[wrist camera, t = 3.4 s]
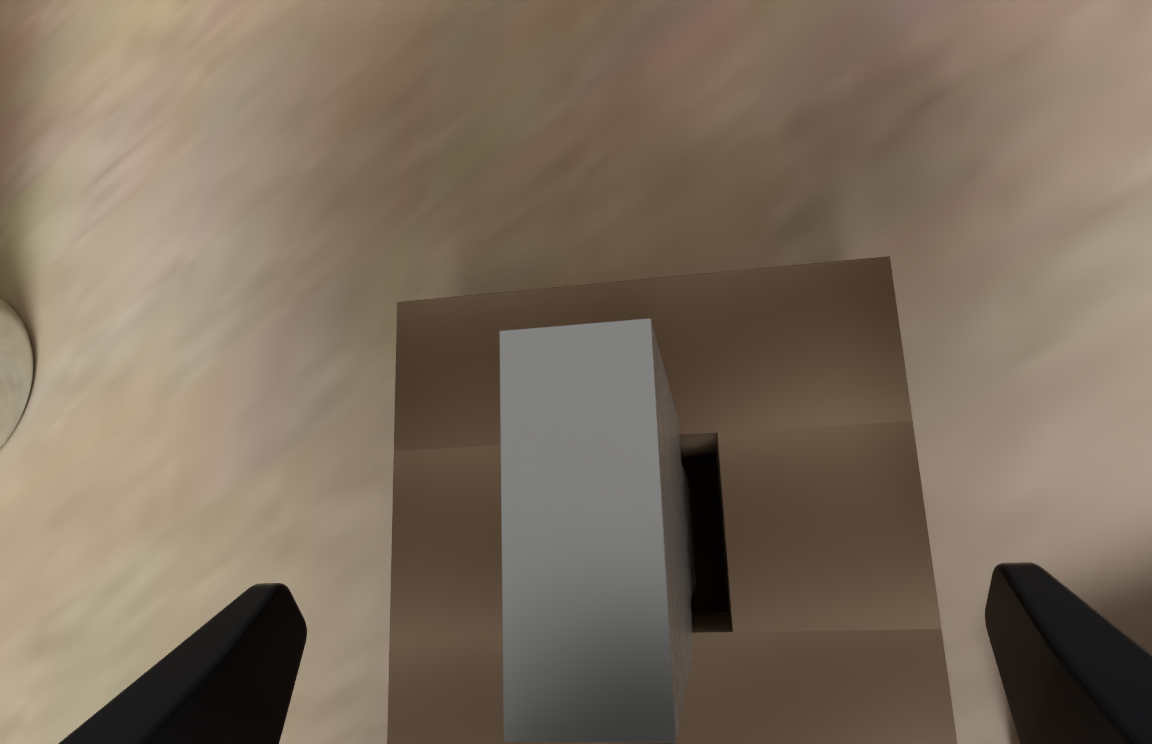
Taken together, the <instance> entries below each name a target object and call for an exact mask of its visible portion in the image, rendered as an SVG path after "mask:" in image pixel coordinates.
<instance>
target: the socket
mask: <svg viewBox="0 0 1152 744" xmlns="http://www.w3.org/2000/svg"><path fill="white" fill-rule="evenodd" d="M649 318H651V321H652V325H653V328H654V332H655V336H656V339H657V343H658V347H659V350H660V354H661V358H662V361H663V365H664V369H665V372H666V376H667V380H668V383H669V387H670V391H671V394H672V398H673V402H674V405H675V409H676V413H677V416H678V420H679V435H680V450H681V458H694V457H712V456H716V457H717V470H718V483H719V496H720V509H721V522H722V535H723V548H724V561H725V574H726V587H727V600H728V613H691V617H692V632H693V647H694V648H693V653H692V659H691V664H690V670H689V675H688V680H687V686H686V691H685V696H684V702H683V707H682V712H681V718H680V723H679V728H678V734H677V739H676V743H629V742H507V741H504V711H503V613H502V515H501V417H500V331H507V330H519V329H531V328H542V327H554V326H566V325H578V324H590V323H602V322H614V321H626V320H638V319H649ZM387 744H957V739H956V732H955V724H954V717H953V710H952V703H951V696H950V688H949V681H948V674H947V667H946V659H945V652H944V645H943V638H942V631H941V623H940V616H939V609H938V602H937V595H936V587H935V580H934V573H933V566H932V559H931V551H930V544H929V537H928V530H927V523H926V515H925V508H924V501H923V494H922V486H921V479H920V472H919V465H918V458H917V450H916V443H915V436H914V429H913V422H912V414H911V407H910V400H909V393H908V386H907V378H906V371H905V364H904V357H903V349H902V342H901V335H900V328H899V321H898V313H897V306H896V299H895V292H894V285H893V277H892V270H891V263H890V256H889V257H878V258H867V259H856V260H846V261H835V262H824V263H813V264H803V265H792V266H781V267H770V268H759V269H749V270H738V271H727V272H716V273H706V274H695V275H684V276H673V277H663V278H652V279H641V280H630V281H620V282H609V283H598V284H587V285H576V286H566V287H555V288H544V289H533V290H523V291H512V292H501V293H490V294H480V295H469V296H458V297H447V298H436V299H426V300H415V301H404V302H397V341H396V385H395V429H394V474H393V518H392V562H391V606H390V651H389V695H388V739H387Z"/></svg>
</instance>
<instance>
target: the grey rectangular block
mask: <svg viewBox="0 0 1152 744" xmlns="http://www.w3.org/2000/svg"><path fill="white" fill-rule="evenodd" d="M500 417H501V515H502V613H503V711H504V741H507V742H629V743H676V739H677V734H678V728H679V723H680V718H681V712H682V707H683V702H684V696H685V691H686V686H687V680H688V675H689V670H690V664H691V659H692V653H693V648H694V647H693V632H692V617H691V602H690V599H691V597H692V595H693V592H694V590H695V587H696V580H695V566H694V551H693V536H692V521H691V507H690V492H689V482H688V479H687V477H686V474H685V471H684V469H683V466H682V463H681V450H680V435H679V420H678V416H677V413H676V409H675V405H674V402H673V398H672V394H671V391H670V387H669V383H668V380H667V376H666V372H665V369H664V365H663V361H662V358H661V354H660V350H659V347H658V343H657V339H656V336H655V332H654V328H653V325H652V321H651V318H649V319H638V320H626V321H614V322H602V323H590V324H578V325H566V326H554V327H542V328H531V329H519V330H507V331H500Z"/></svg>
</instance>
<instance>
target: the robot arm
mask: <svg viewBox="0 0 1152 744" xmlns="http://www.w3.org/2000/svg"><path fill="white" fill-rule="evenodd" d="M985 621H986V627H987V632H988V635H989V639H990V642H991V645H992V649H993V652H994V656H995V659H996V663H997V666H998V669H999V673H1000V676H1001V680H1002V683H1003V686H1004V690H1005V693H1006V697H1007V700H1008V704H1009V707H1010V710H1011V714H1012V717H1013V721H1014V724H1015V728H1016V731H1017V734H1018V738H1019V741H1020V744H1152V655H1151V654H1150V653H1149V652H1147V651H1146V650H1145V649H1144V648H1142V647H1141V646H1140V645H1139V644H1137V643H1136V642H1135V641H1134V640H1132V639H1131V638H1130V637H1129V636H1127V635H1126V634H1125V633H1123V632H1122V631H1121V630H1120V629H1118V628H1117V627H1116V626H1115V625H1113V624H1112V623H1111V622H1110V621H1108V620H1107V619H1106V618H1105V617H1103V616H1102V615H1101V614H1100V613H1098V612H1097V611H1096V610H1095V609H1093V608H1092V607H1091V606H1090V605H1088V604H1087V603H1086V602H1085V601H1083V600H1082V599H1081V598H1079V597H1078V596H1077V595H1076V594H1074V593H1073V592H1072V591H1071V590H1069V589H1068V588H1067V587H1066V586H1064V585H1063V584H1062V583H1061V582H1059V581H1058V580H1057V579H1056V578H1054V577H1053V576H1052V575H1051V574H1049V573H1048V572H1047V571H1046V570H1044V569H1043V568H1042V567H1040V566H1038V565H1036V564H1034V563H1001V564H998V565H997V566H996V567H995V568H994V571H993V574H992V579H991V584H990V589H989V594H988V599H987V604H986V609H985ZM306 637H307V627H306V622H305V620H304V618H303V616H302V614H301V612H300V610H299V608H298V606H297V604H296V602H295V600H294V598H293V596H292V594H291V592H290V590H289V589H288V587H287V586H285V585H284V584H281V583H266V584H256V585H253V586H252V587H250V588H249V589H247V590H246V591H245V592H244V593H242V594H241V595H240V596H239V597H238V598H236V599H235V600H234V601H233V602H231V603H230V604H229V605H228V606H227V607H225V608H224V609H223V610H222V611H220V612H219V613H218V614H217V615H215V616H214V617H213V618H212V619H211V620H209V621H208V622H207V623H206V624H204V625H203V626H202V627H201V628H200V629H198V630H197V631H196V632H195V633H193V634H192V635H191V636H190V637H189V638H187V639H186V640H185V641H184V642H182V643H181V644H180V645H179V646H178V647H176V648H175V649H174V650H173V651H171V652H170V653H169V654H168V655H166V656H165V657H164V658H163V659H162V660H160V661H159V662H158V663H157V664H155V665H154V666H153V667H152V668H151V669H149V670H148V671H147V672H146V673H144V674H143V675H142V676H141V677H140V678H138V679H137V680H136V681H135V682H133V683H132V684H131V685H130V686H129V687H127V688H126V689H125V690H124V691H122V692H121V693H120V694H119V695H117V696H116V697H115V698H114V699H113V700H111V701H110V702H109V703H108V704H106V705H105V706H104V707H103V708H102V709H100V710H99V711H98V712H97V713H95V714H94V715H93V716H92V717H91V718H89V719H88V720H87V721H86V722H84V723H83V724H82V725H81V726H80V727H78V728H77V729H76V730H75V731H73V732H72V733H71V734H70V735H68V736H67V737H66V738H65V739H64V740H62V741H61V742H60V743H59V744H279V741H280V738H281V734H282V731H283V727H284V723H285V719H286V715H287V711H288V708H289V704H290V700H291V696H292V692H293V689H294V685H295V681H296V677H297V673H298V669H299V666H300V662H301V658H302V654H303V650H304V646H305V643H306Z"/></svg>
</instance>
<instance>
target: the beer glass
mask: <svg viewBox="0 0 1152 744" xmlns="http://www.w3.org/2000/svg"><path fill="white" fill-rule="evenodd" d="M32 378H33V352H32V346H31V342H30V338H29V335H28V332H27V330H26V327H25V325H24V323H23V321H22V320H21V318H20V317H19V315H18V314H17V313H16V311H15V310H14V309H13V308H12V307H11V306H10V305H9V304H7V303H6V302H5V301H3V300H2V299H0V448H1V447H2V446H3V444H4V443H5V442H6V441H7V439H8V438H9V436H10V435H11V434H12V432H13V430H14V429H15V427H16V425H17V424H18V422H19V420H20V418H21V416H22V413H23V411H24V409H25V406H26V403H27V400H28V397H29V393H30V389H31V384H32Z"/></svg>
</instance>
